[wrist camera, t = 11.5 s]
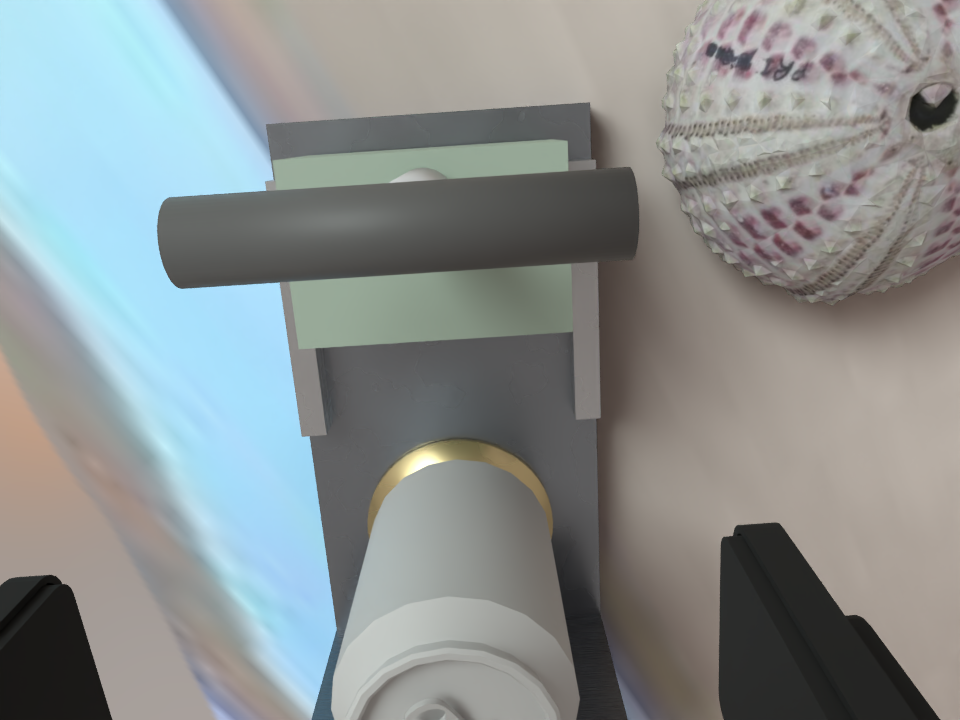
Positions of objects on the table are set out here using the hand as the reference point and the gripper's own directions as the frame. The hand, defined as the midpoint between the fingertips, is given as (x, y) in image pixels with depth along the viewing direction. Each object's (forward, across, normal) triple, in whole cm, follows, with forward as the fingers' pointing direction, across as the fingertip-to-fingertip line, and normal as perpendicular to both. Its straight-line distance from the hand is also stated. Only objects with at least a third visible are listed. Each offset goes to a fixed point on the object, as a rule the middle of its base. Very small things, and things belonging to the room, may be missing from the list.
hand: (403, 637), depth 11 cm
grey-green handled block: (+20, 0, -3) cm, 20 cm away
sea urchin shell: (+22, -14, -6) cm, 27 cm away
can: (+20, +1, +10) cm, 22 cm away
